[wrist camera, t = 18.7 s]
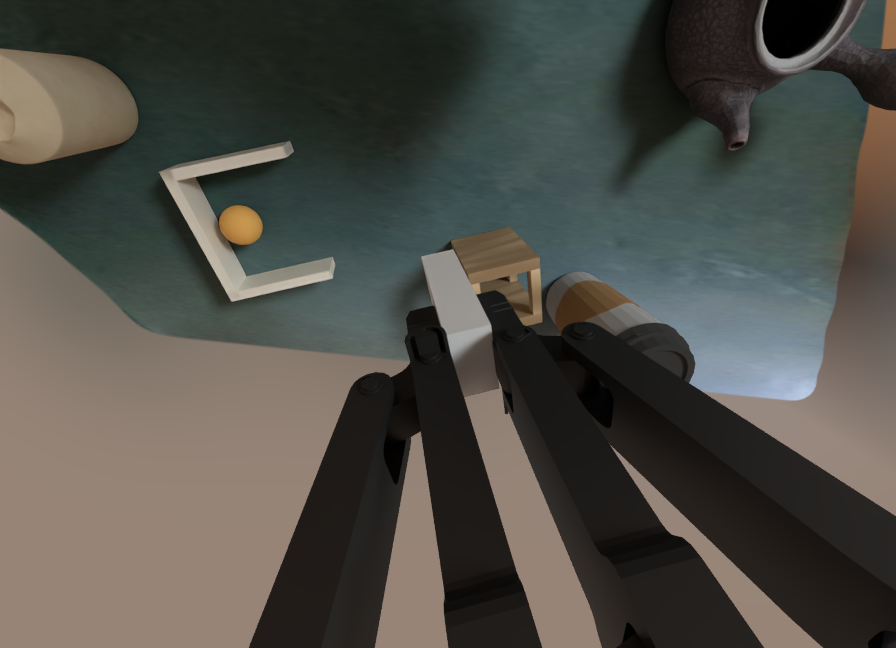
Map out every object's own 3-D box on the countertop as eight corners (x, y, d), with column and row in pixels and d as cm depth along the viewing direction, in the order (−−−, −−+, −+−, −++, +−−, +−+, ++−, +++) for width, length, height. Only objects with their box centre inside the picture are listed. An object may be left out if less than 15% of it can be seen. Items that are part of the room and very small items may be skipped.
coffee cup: (544, 337, 46) (610, 432, 33) (527, 280, 41) (595, 365, 29) (610, 309, 45) (701, 395, 33) (599, 248, 41) (701, 321, 28)
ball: (205, 207, 31) (231, 212, 29) (240, 199, 33) (266, 204, 32) (216, 245, 32) (241, 252, 31) (249, 236, 35) (274, 242, 33)
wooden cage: (450, 240, 37) (468, 274, 31) (509, 226, 38) (539, 257, 31) (460, 296, 41) (478, 337, 34) (514, 283, 41) (542, 322, 35)
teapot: (614, 124, 34) (692, 136, 26) (708, -118, 27) (860, -209, 19) (770, 167, 39) (878, 189, 31) (887, -28, 32) (1072, -68, 23)
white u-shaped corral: (177, 164, 30) (158, 171, 28) (290, 140, 31) (282, 145, 28) (241, 285, 36) (231, 301, 34) (335, 264, 37) (332, 278, 34)
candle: (74, 35, 25) (-71, 11, 17) (156, 109, 28) (66, 120, 20) (29, 95, 27) (-126, 99, 18) (112, 160, 29) (10, 190, 21)
